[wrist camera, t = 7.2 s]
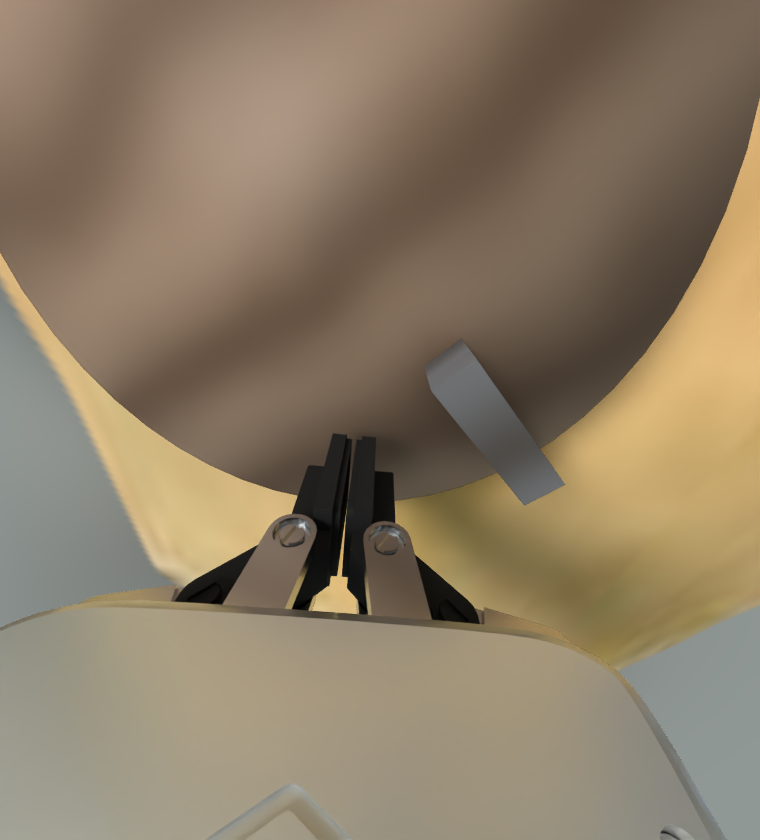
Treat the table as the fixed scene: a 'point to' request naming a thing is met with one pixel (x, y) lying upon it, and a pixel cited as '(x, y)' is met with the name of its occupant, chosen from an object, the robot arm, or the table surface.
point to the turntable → (368, 213)
